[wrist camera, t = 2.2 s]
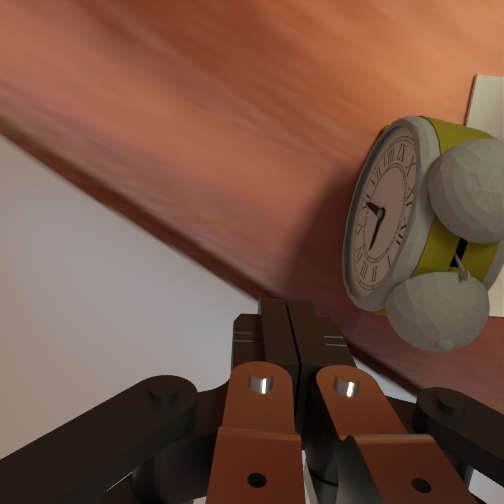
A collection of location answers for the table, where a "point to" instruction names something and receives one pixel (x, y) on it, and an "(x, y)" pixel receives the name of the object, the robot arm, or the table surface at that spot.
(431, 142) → the alarm clock
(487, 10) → the table surface
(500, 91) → the white paper sheet
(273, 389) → the robot arm
